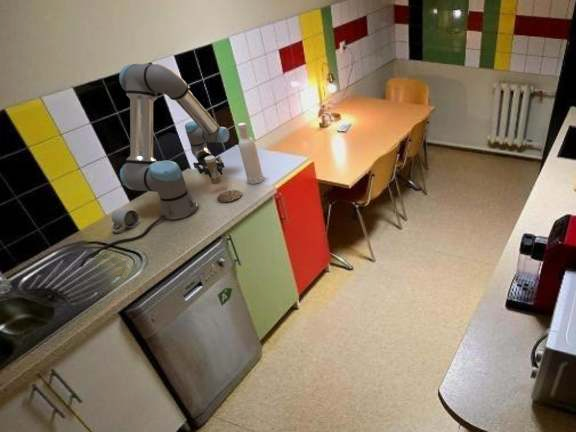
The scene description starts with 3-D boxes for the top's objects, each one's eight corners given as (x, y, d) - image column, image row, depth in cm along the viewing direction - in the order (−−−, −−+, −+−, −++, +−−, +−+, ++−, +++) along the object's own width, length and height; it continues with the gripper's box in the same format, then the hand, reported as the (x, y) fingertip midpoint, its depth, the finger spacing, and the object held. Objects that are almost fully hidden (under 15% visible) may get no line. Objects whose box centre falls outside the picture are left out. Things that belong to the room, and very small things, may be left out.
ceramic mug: (127, 219, 187) (120, 204, 182) (142, 221, 184) (135, 206, 180) (108, 232, 178) (100, 217, 174) (123, 235, 176) (115, 220, 172)
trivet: (222, 205, 192) (221, 204, 192) (214, 196, 200) (214, 195, 200) (245, 197, 198) (244, 196, 197) (236, 189, 205) (236, 187, 205)
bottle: (266, 176, 215) (253, 120, 199) (260, 184, 208) (246, 126, 192) (251, 176, 216) (237, 120, 200) (245, 183, 210) (230, 126, 194)
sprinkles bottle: (209, 184, 203) (202, 158, 195) (216, 179, 206) (209, 154, 199) (217, 185, 201) (209, 159, 194) (223, 181, 204) (216, 155, 197)
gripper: (223, 159, 219) (236, 175, 202) (188, 168, 211) (198, 186, 194) (219, 146, 215) (232, 161, 198) (184, 155, 207) (194, 171, 190)
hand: (215, 173), depth 196 cm, fingers closed on sprinkles bottle, 4 cm apart
